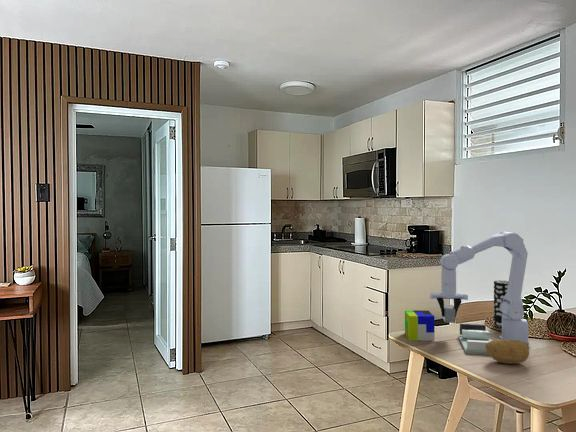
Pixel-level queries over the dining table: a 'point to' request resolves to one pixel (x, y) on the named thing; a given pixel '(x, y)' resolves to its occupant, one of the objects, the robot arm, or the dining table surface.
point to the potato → (508, 351)
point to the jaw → (474, 331)
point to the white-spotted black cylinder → (499, 300)
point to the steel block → (449, 314)
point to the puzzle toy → (419, 325)
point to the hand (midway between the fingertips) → (448, 316)
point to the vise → (474, 345)
